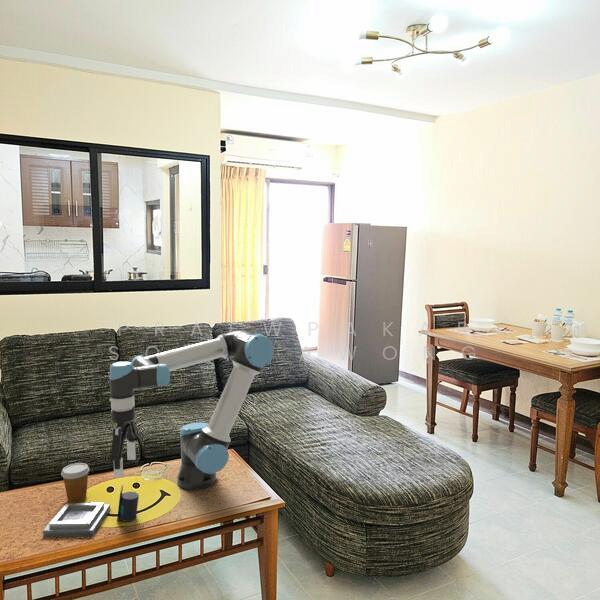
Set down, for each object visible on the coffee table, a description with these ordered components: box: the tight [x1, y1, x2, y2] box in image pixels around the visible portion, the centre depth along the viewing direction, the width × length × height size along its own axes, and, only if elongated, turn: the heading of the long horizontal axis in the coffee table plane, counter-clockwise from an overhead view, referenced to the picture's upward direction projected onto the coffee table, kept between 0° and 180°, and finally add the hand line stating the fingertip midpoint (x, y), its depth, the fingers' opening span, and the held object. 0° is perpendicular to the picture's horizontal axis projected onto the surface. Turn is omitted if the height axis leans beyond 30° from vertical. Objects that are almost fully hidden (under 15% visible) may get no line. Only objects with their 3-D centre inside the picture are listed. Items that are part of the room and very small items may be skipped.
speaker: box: [116, 484, 140, 522], centre depth 176 cm, size 8×6×10 cm
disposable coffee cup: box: [60, 462, 90, 503], centre depth 189 cm, size 10×10×12 cm
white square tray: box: [42, 502, 111, 537], centre depth 174 cm, size 16×16×4 cm
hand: (125, 468), depth 175 cm, fingers open, 13 cm apart
